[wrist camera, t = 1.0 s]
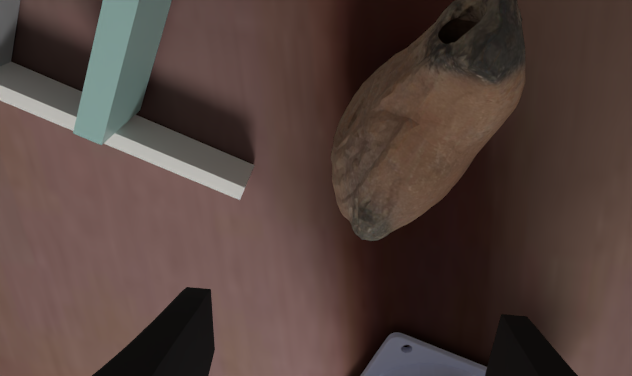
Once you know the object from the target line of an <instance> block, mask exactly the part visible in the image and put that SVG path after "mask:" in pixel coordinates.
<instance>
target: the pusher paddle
mask: <svg viewBox="0 0 632 376" xmlns="http://www.w3.org/2000/svg"><path fill="white" fill-rule="evenodd" d="M171 1H172V0H103V2H102V7H101V11H100V16H99V20H98V25H97V29H96V33H95V38H94V42H93V47H92V51H91V56H90V60H89V64H88V69H87V73H86V78H85V82H84V87H83V91H82V96H81V100H80V104H79V109H78V113H77V118H76V122H75V127H74V131H73V133H74V134H76V135H78V136H81V137H83V138H86V139H88V140H90V141H93V142H95V143H98V144H100V145H102V144H103V143H105V142H106V141H107V140H108V139H109V138H110V137H111V136H112V135H113V134H114V133H116V132H117V131H118V130H119V129H120V128H121V127H122V126H123V125H124V124H125V123H127V122H128V121H129V120H130V119H131V118H132V117H133V116H134V115H135V114H136V113H138V112H139V111H140V109H141V106H142V102H143V99H144V95H145V92H146V88H147V85H148V81H149V78H150V74H151V71H152V67H153V64H154V60H155V57H156V53H157V50H158V46H159V43H160V40H161V36H162V33H163V29H164V26H165V22H166V19H167V15H168V12H169V8H170V5H171Z"/></svg>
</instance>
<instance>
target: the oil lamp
mask: <svg viewBox="0 0 632 376" xmlns="http://www.w3.org/2000/svg"><path fill="white" fill-rule="evenodd" d="M521 22H522V18H521V14H520V11H519V8H518V4H517V0H455V1H453V2H452V3H451V4H450V5H449V6H448V7H447V8H446V9H445V10H444V11H443V12H442V14H441V15H440V17H439V18H438V19H437V21H436V22H435V23H434V24H433V25H432V26H431V27H430V28H428V29H427V30H426V31H425V32H424V33H423V34H422V35H421V36H420V37H419V38H418V39H417V40H415V41H414V42H413V43H412V44H410V45H409V46H408V47H407V48H406V49H404V50H402V51H400V52H399V53H397V54H395V55H394V56H393V57H391V58H390V59H389V60H388V61H387V62H385V63H384V64H383V65H382V66H380V67H379V68H378V69H377V70H376V71H375V72H374V73H373V74H372V75H371V76H370V77H369V78H368V79H367V80H366V81H365V82H364V83H363V84H362V85H361V87H360V88H359V90H358V91H357V92H356V94H355V95H354V96H353V98H352V100H351V102H350V103H349V105H348V106H347V108H346V110H345V112H344V114H343V116H342V117H341V119H340V122H339V124H338V127H337V130H336V133H335V136H334V141H333V149H332V152H331V162H332V183H333V187H334V191H335V196H336V202H337V204H338V207H339V209H340V211H341V213H342V215H343V216H344V217H345V218H347V219H348V220H349V221H350V223H351V226H352V229H353V231H354V233H355V234H356V235H357V236H358V237H360V238H361V239H362V240H368V241H376V240H379V239H381V238H383V237H385V236H387V235H388V234H389V233H391V232H393V231H394V230H396V229H398V228H400V227H402V226H404V225H407V224H408V223H410V222H412V221H413V220H415V219H417V218H418V217H419V216H421V215H422V214H424V213H425V212H426V211H427V210H428V209H430V208H431V207H432V206H434V205H435V204H437V203H438V202H439V201H440V200H442V199H443V198H444V197H445V196H446V195H447V194H448V193H449V192H450V190H451V189H452V187H453V186H454V185H455V184H456V183H457V182H458V181H459V179H460V178H461V177H462V175H463V174H464V173H465V172H466V170H467V169H468V167H469V166H470V164H471V162H472V161H473V159H474V158H475V156H476V155H477V154H478V152H479V151H480V150H481V149H482V148H483V147H484V145H485V144H486V143H487V142H488V141H489V140H490V139H491V137H492V136H493V135H494V134H495V133H496V132H497V130H498V129H499V128H500V127H501V126H502V125H503V123H504V122H505V121H506V120H507V119H508V117H509V116H510V115H511V114H512V112H513V111H514V110H515V108H516V106H517V104H518V102H519V100H520V98H521V95H522V91H523V88H524V84H525V45H524V38H523V31H522V24H521Z"/></svg>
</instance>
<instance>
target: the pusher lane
mask: <svg viewBox="0 0 632 376" xmlns="http://www.w3.org/2000/svg"><path fill="white" fill-rule="evenodd" d="M19 6H20V0H0V101H3V102H5V103H8V104H10V105H12V106H15V107H17V108H20V109H22V110H24V111H27V112H29V113H32V114H34V115H36V116H39V117H41V118H44V119H46V120H48V121H51V122H53V123H56V124H58V125H60V126H63V127H65V128H68V129H70V130H73V131H74V127H75V122H76V118H77V113H78V109H79V104H80V100H81V96H82V92H81V91H79V90H77V89H74V88H72V87H70V86H67V85H65V84H63V83H60V82H58V81H56V80H53V79H51V78H49V77H46V76H44V75H42V74H39V73H37V72H34V71H32V70H30V69H27V68H25V67H23V66H20V65H18V64H16V63H13V62H11V59H12V53H13V46H14V39H15V33H16V26H17V19H18V13H19ZM104 144H106V145H109V146H111V147H113V148H116V149H118V150H121V151H123V152H125V153H128V154H130V155H133V156H135V157H138V158H140V159H142V160H145V161H147V162H150V163H152V164H154V165H157V166H159V167H162V168H164V169H166V170H169V171H171V172H174V173H176V174H178V175H181V176H183V177H186V178H188V179H190V180H193V181H195V182H198V183H200V184H203V185H205V186H207V187H210V188H212V189H215V190H217V191H219V192H222V193H224V194H227V195H229V196H231V197H234V198H236V199H239V200H240V199H241V196H242V194H243V192H244V189H245V187H246V184H247V182H248V180H249V177H250V175H251V173H252V170H253V168H254V166H255V165H253V164H251V163H248V162H246V161H244V160H241V159H239V158H236V157H234V156H232V155H229V154H227V153H225V152H222V151H220V150H218V149H215V148H213V147H211V146H208V145H206V144H204V143H201V142H199V141H197V140H194V139H192V138H189V137H187V136H185V135H182V134H180V133H178V132H175V131H173V130H171V129H168V128H166V127H164V126H161V125H159V124H157V123H154V122H152V121H150V120H147V119H145V118H143V117H140V116H138V115H134V116H133V117H132V118H131V119H130V120H129V121H128V122H127V123H125V124H124V125H123V126H122V127H121V128H120V129H119V130H118V131H117V132H116V133H114V134H113V135H112V136H111V137H110V138H109V139H108V140H107V141H106V142H105V143H104Z"/></svg>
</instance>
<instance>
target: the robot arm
mask: <svg viewBox="0 0 632 376" xmlns="http://www.w3.org/2000/svg"><path fill="white" fill-rule="evenodd" d="M404 345H410V346H409V347H403V346H404ZM214 350H215V348H214V332H213V317H212V302H211V289H201V288H190V287H187V288H185V289H184V290H183V291H182V292H181V293H180V294H179V295H178V296H177V297H176V298H175V299H174V300H173V301H172V302H171V303H170V304H169V305H168V306H167V307H166V308H165V309H164V310H163V311H162V313H161V314H160V315H159V316H158V317H157V318H156V319H155V320H154V321H153V322H152V323H151V324H150V325H148V326H147V327H146V328H145V329H144V330H143V331H142V332H141V333H140V334H139V335H138V336H137V337H136V338H135V339H134V340H133V341H132V342H131V343H130V344H128V345H127V346H126V347H125V348H124V349H123V350H122V351H121V352H119V353H118V354H117V355H116V356H115V357H114V358H112V359H111V360H110V361H109V362H108V363H107V364H106V365H104V366H103V367H102V368H101V369H100V370H98V371H97V372H96V373H95V374H93V375H92V376H208V374H209V371H210V367H211V362H212V358H213V354H214ZM360 376H578V375H577V374H576V373H575V372H574V371H573V370H572V369H571V368H570V367H569V365H568V364H567V363H566V362H565V361H564V360H563V359H562V357H561V356H560V355H559V354H558V353H557V352H556V350H555V349H554V348H553V347H552V346H551V344H550V343H549V342H548V341H547V340H546V339H545V337H544V336H543V335H542V334H541V333H540V331H539V330H538V329H537V328H536V327H535V326H534V324H533V323H532V322H531V321H530V320H529V319H528V317H526V316H514V315H503V314H501V317H500V321H499V325H498V329H497V332H496V336H495V340H494V343H493V347H492V351H491V355H490V358H489V362H488V366H487V367H486V366H483V365H481V364H478V363H476V362H473V361H471V360H468V359H466V358H463V357H461V356H458V355H456V354H453V353H451V352H448V351H446V350H443V349H441V348H438V347H436V346H433V345H430V344H428V343H425V342H423V341H420V340H418V339H415V338H413V337H410V336H408V335H405V334H403V333H399V332H394V333H391V334H390V335H389V336H388V337H387V338H386V339H385V341H384V342H383V344H382V345H381V347H380V348H379V349H378V351H377V352H376V354H375V355H374V357H373V358H372V360H371V361H370V362H369V364H368V365H367V367H366V368H365V370H364V371H363V372H362V374H361V375H360Z"/></svg>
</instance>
